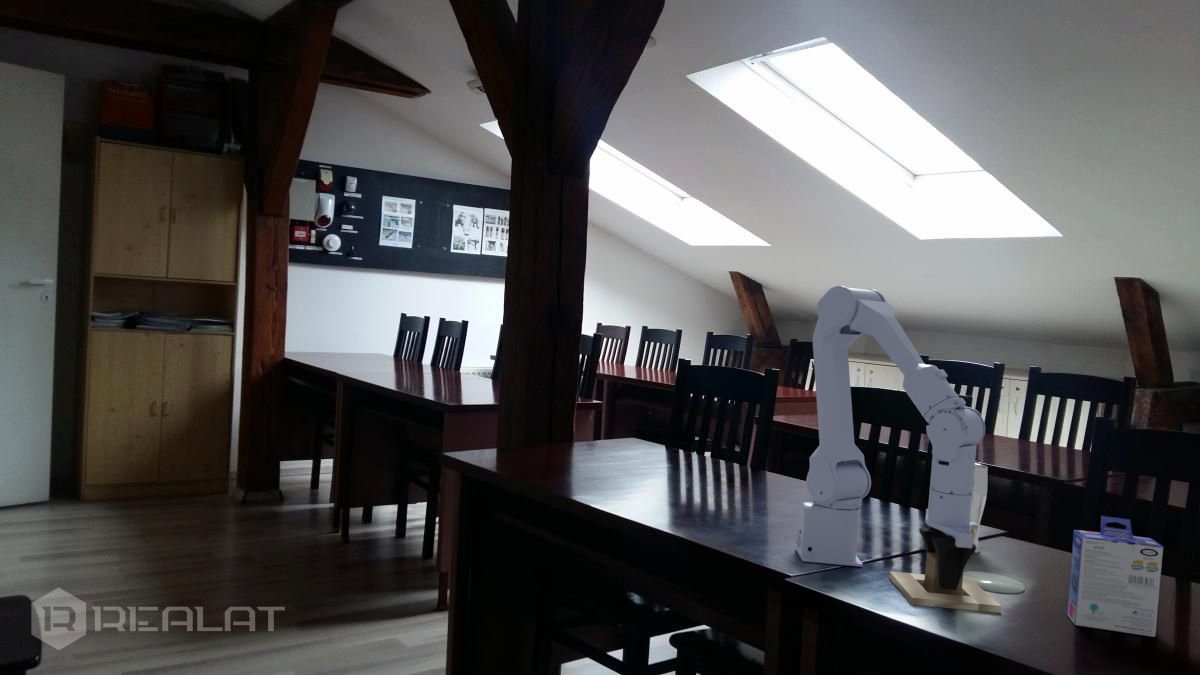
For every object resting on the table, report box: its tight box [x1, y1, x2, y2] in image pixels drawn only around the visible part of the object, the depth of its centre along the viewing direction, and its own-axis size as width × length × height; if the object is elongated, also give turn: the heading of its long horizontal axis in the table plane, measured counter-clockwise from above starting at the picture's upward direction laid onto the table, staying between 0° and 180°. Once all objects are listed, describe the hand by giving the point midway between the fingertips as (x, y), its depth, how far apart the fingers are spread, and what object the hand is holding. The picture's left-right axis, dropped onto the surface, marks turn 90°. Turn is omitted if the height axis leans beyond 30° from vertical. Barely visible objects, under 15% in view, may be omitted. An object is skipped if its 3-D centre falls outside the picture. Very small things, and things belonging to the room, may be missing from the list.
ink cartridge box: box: [1067, 515, 1164, 638], centre depth 116 cm, size 10×6×14 cm, turn 74°
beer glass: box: [970, 462, 989, 554], centre depth 151 cm, size 7×7×15 cm
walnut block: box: [923, 552, 964, 596], centre depth 124 cm, size 4×4×6 cm
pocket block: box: [888, 570, 1002, 614], centre depth 124 cm, size 12×12×1 cm
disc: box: [963, 571, 1025, 594], centre depth 132 cm, size 9×9×1 cm
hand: (943, 583), depth 124 cm, fingers closed on walnut block, 4 cm apart
